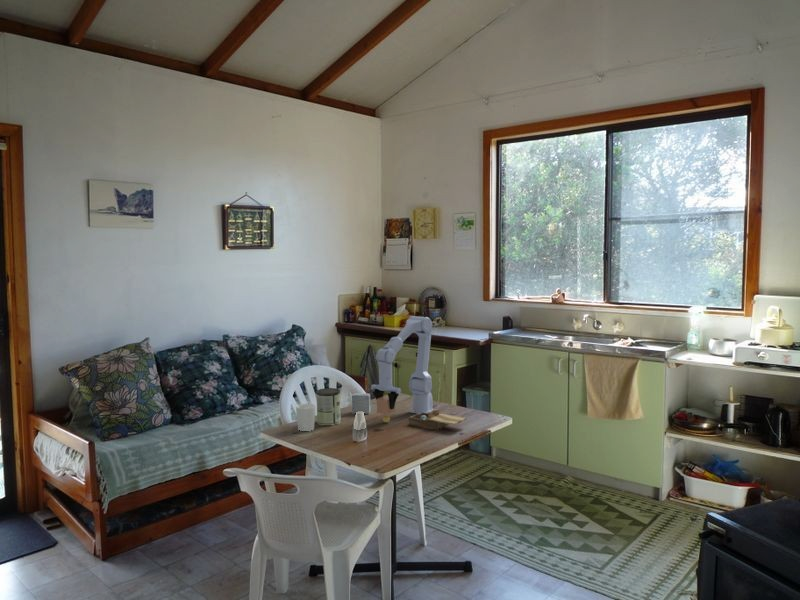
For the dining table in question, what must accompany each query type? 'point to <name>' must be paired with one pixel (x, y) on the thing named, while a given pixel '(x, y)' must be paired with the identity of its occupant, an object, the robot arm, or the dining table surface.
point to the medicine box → (361, 403)
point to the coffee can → (328, 406)
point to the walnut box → (424, 422)
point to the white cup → (305, 417)
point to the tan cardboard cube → (384, 405)
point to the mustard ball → (386, 419)
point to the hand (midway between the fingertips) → (386, 407)
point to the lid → (444, 417)
